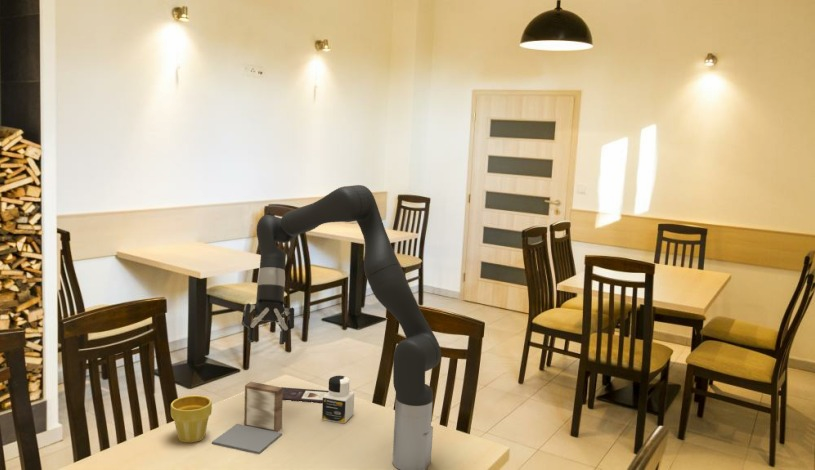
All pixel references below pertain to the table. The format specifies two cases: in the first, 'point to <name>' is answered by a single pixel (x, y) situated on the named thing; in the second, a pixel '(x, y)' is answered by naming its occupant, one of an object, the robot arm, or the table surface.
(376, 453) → the table surface
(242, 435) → the felt mat
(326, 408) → the medicine bottle
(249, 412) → the walnut tile
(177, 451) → the table surface
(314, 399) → the chocolate bar
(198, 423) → the plant pot
